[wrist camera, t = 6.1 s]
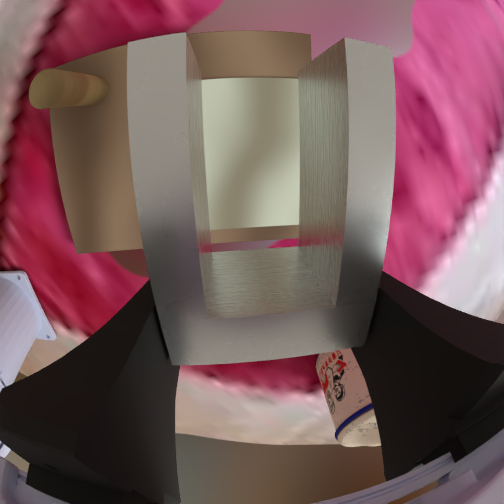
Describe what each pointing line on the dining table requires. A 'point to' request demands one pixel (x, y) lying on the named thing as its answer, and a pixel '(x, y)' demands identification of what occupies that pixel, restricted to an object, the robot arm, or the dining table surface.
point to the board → (215, 138)
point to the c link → (310, 209)
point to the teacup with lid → (348, 399)
